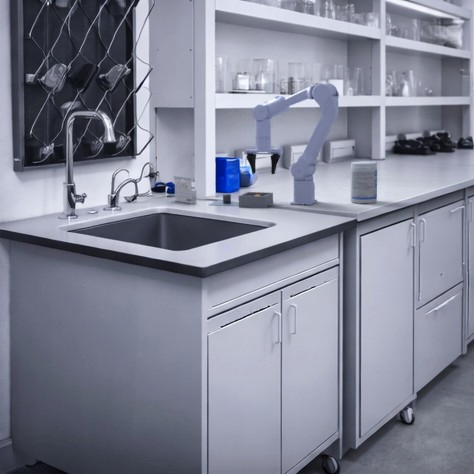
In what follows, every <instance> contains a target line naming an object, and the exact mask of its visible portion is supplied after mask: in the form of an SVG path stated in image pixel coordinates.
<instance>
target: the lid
mask: <svg viewBox="0 0 474 474" xmlns="http://www.w3.org/2000/svg"><path fill="white" fill-rule="evenodd" d="M232 201H233V200H232V194H231V193H223V194H222V199H218V200H216V201H214V202H211V203H210V204H209V203H208V206H218V207H219V206H220V207H221V206H223V207H237V206H239V202H232Z"/></svg>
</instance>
